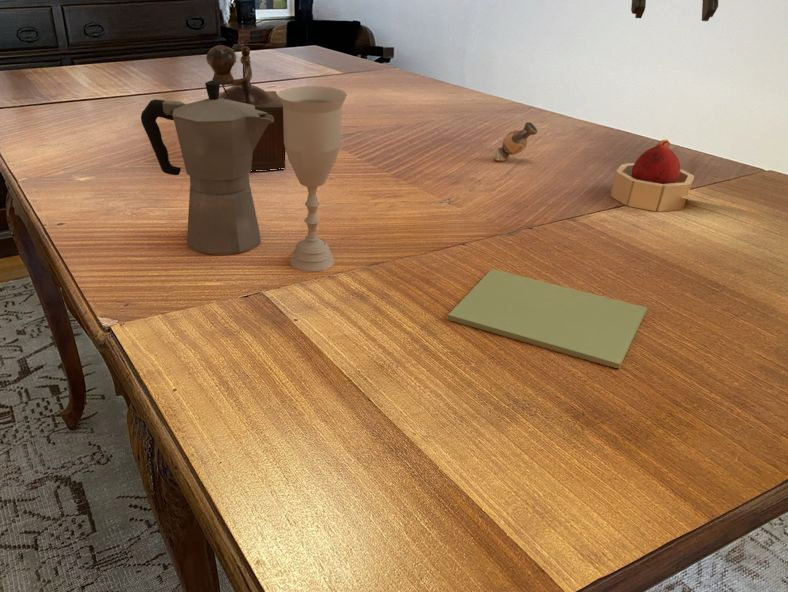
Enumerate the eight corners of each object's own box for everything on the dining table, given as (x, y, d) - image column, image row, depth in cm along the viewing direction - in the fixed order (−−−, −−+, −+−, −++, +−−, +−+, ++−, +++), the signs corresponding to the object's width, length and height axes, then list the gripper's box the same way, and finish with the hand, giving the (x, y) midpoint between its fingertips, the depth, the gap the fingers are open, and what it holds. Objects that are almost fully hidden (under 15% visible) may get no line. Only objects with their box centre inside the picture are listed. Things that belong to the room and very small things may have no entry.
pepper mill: (209, 153, 112) (199, 30, 103) (278, 149, 114) (275, 29, 104) (215, 185, 99) (205, 48, 90) (293, 181, 101) (291, 46, 92)
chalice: (284, 247, 82) (281, 85, 72) (343, 248, 82) (347, 86, 72) (278, 275, 76) (274, 102, 66) (342, 276, 76) (346, 104, 66)
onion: (655, 209, 93) (672, 149, 89) (617, 196, 97) (631, 138, 93) (679, 200, 96) (696, 141, 92) (641, 188, 100) (656, 131, 96)
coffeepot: (289, 231, 86) (286, 75, 76) (263, 263, 78) (256, 95, 69) (173, 217, 89) (156, 67, 80) (137, 247, 82) (114, 84, 72)
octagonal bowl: (690, 195, 98) (697, 170, 96) (679, 216, 91) (687, 190, 89) (620, 182, 102) (626, 158, 100) (605, 202, 95) (611, 176, 93)
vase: (537, 159, 111) (543, 120, 108) (525, 168, 107) (531, 128, 104) (504, 153, 113) (509, 115, 110) (491, 162, 110) (496, 123, 106)
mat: (646, 312, 70) (647, 307, 69) (618, 369, 61) (620, 364, 61) (491, 273, 77) (492, 268, 76) (447, 319, 68) (447, 314, 68)
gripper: (633, -110, 96) (626, -6, 92) (746, -108, 93) (743, -2, 90) (618, -66, 103) (611, 31, 100) (723, -64, 101) (719, 36, 97)
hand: (673, 15), depth 95 cm, fingers open, 8 cm apart
